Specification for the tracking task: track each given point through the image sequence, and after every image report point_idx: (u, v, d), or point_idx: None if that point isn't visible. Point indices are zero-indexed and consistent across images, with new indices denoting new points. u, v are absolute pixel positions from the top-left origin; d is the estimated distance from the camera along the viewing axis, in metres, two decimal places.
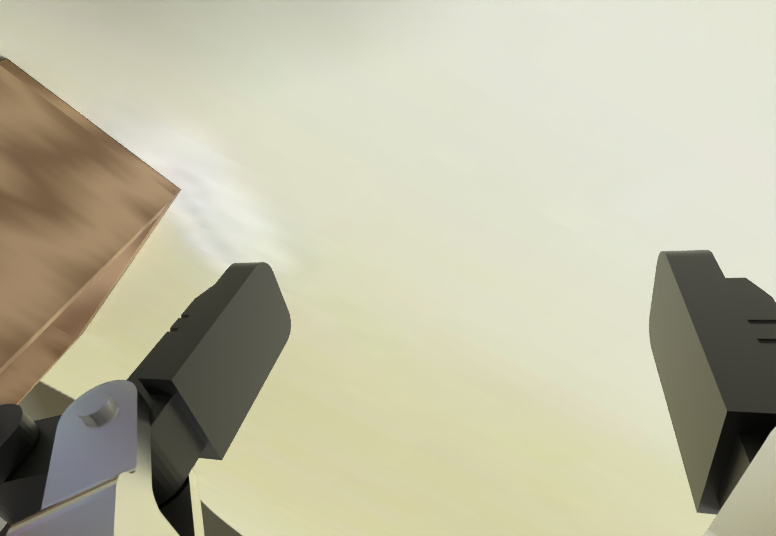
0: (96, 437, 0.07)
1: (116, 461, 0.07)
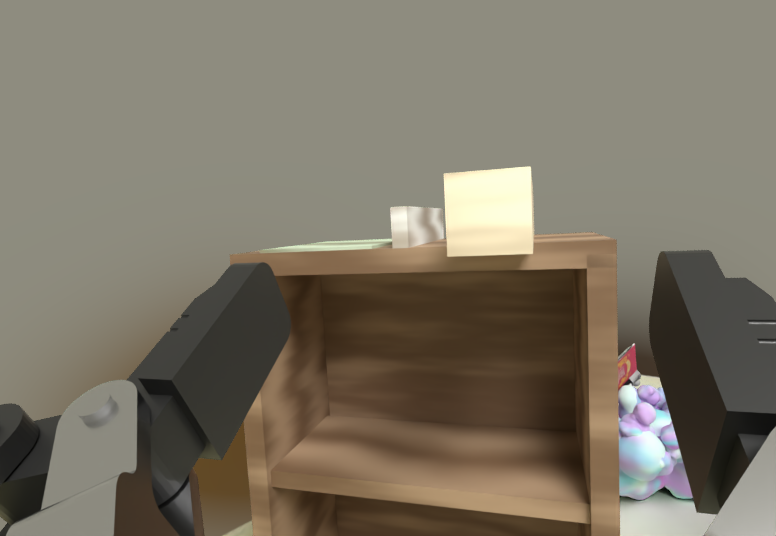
0: (95, 437, 0.07)
1: (116, 461, 0.07)
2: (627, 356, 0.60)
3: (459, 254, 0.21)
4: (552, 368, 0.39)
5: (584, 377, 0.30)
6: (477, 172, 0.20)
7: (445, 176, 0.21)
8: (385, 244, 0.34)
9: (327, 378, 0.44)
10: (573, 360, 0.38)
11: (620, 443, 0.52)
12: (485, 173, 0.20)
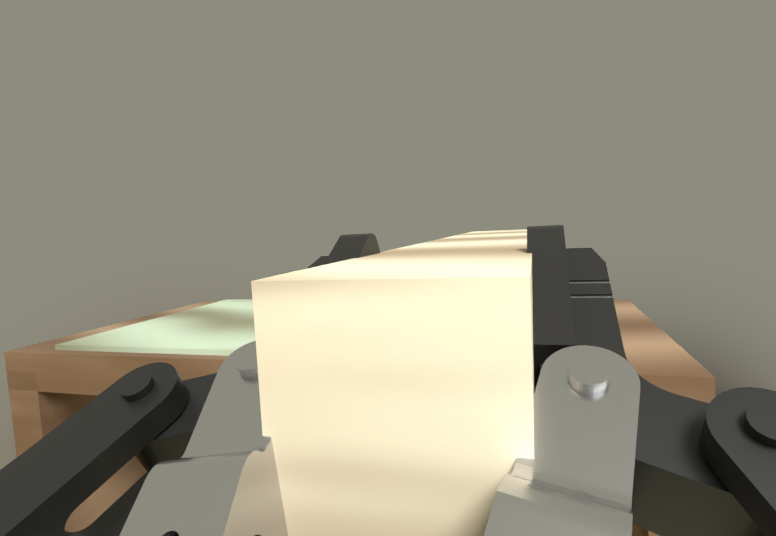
0: (245, 395, 0.07)
1: (254, 429, 0.07)
2: None
3: (304, 533, 0.07)
4: None
5: None
6: (351, 285, 0.06)
7: (256, 290, 0.06)
8: None
9: None
10: None
11: None
12: (376, 291, 0.06)
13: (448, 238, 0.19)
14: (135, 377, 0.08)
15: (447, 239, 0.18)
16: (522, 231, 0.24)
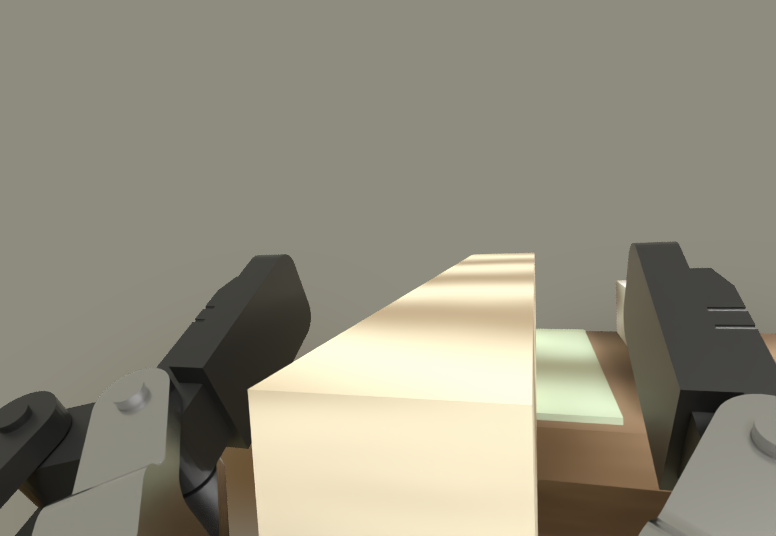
0: (128, 424, 0.07)
1: (145, 450, 0.07)
2: None
3: None
4: None
5: None
6: (349, 400, 0.06)
7: (253, 398, 0.06)
8: None
9: None
10: None
11: None
12: (375, 408, 0.06)
13: (448, 273, 0.19)
14: (9, 408, 0.08)
15: (447, 277, 0.18)
16: (522, 259, 0.24)
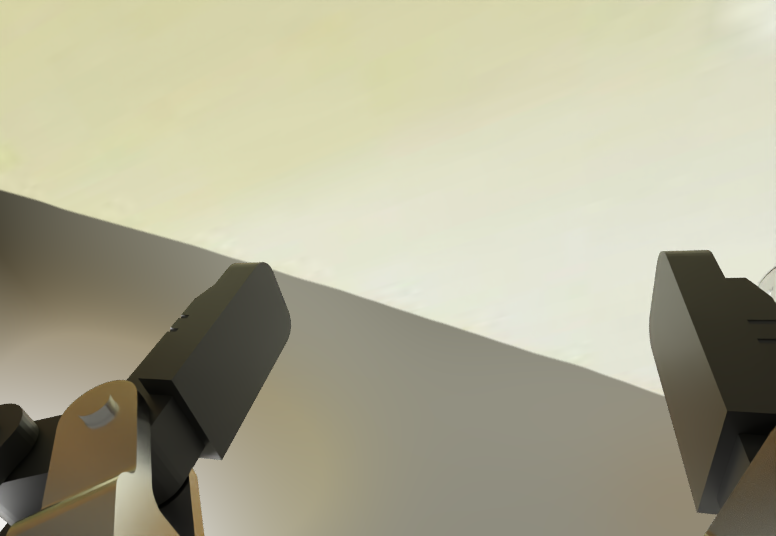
0: (96, 438, 0.07)
1: (116, 461, 0.07)
2: None
3: None
4: None
5: None
6: None
7: None
8: None
9: None
10: None
11: None
12: None
13: None
14: None
15: None
16: None
